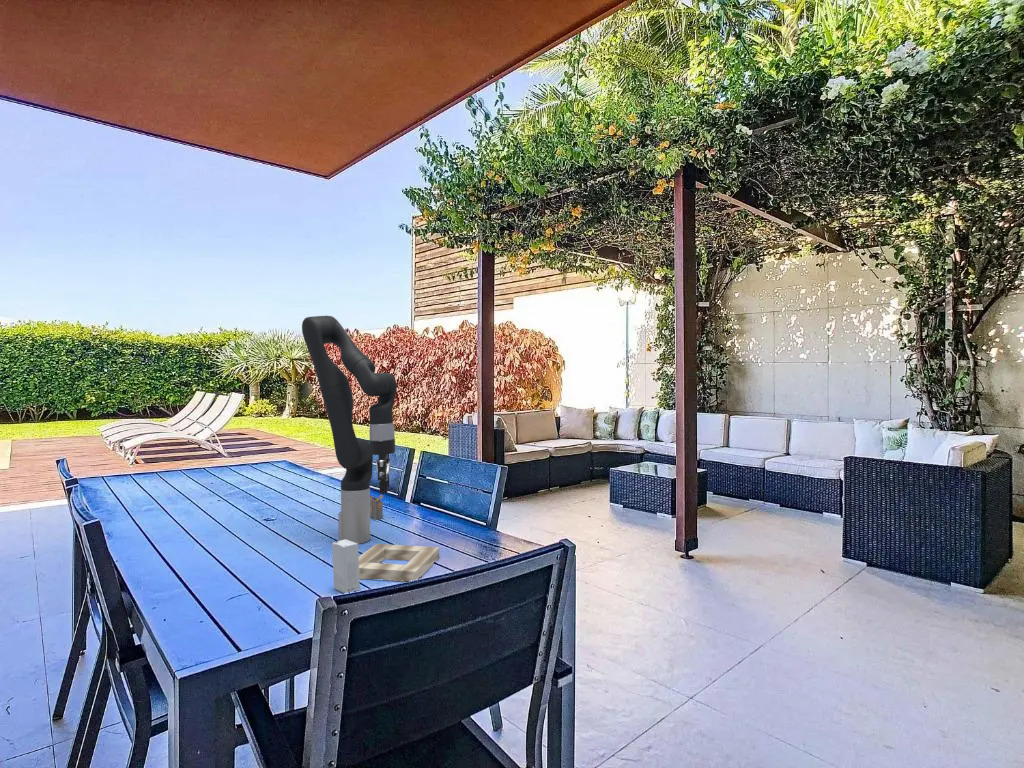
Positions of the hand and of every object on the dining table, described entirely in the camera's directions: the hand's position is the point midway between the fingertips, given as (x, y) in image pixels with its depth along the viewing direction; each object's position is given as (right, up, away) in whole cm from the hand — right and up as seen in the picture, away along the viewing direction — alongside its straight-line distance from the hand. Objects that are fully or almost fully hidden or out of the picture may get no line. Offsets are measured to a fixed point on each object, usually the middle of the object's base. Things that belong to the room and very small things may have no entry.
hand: (384, 490), depth 177 cm
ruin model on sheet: (-13, -19, +42) cm, 48 cm away
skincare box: (-3, -20, -30) cm, 36 cm away
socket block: (+6, -19, -13) cm, 24 cm away
